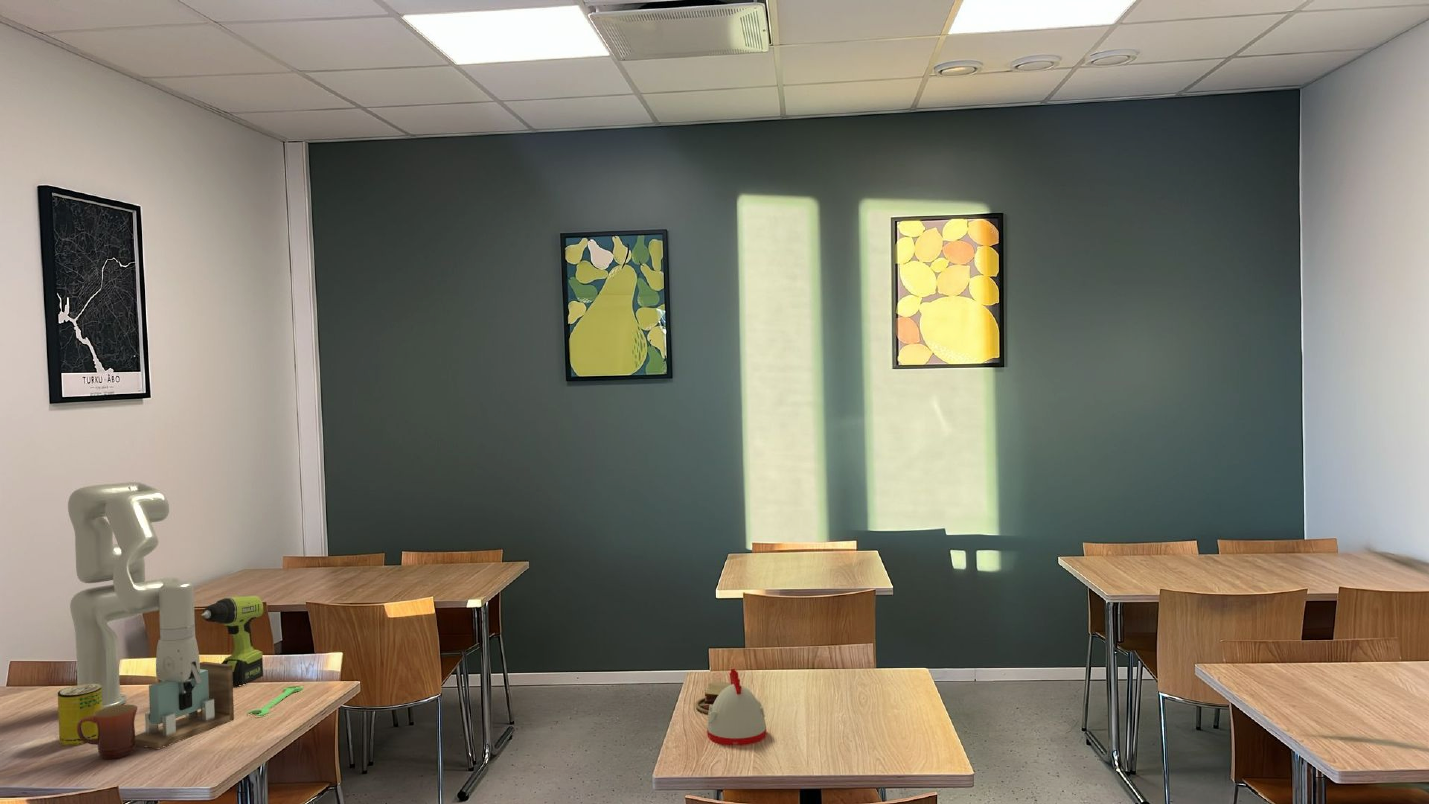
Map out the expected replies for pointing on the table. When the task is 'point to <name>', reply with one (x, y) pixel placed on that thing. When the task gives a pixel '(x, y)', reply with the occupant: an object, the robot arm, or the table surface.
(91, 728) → the yellow food can
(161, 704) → the pale teal rectangular block
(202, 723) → the cabinet base
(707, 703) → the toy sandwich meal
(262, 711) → the wrench
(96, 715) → the mug
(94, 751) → the table surface
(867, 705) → the table surface
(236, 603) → the cordless drill
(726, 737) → the kitchen timer
